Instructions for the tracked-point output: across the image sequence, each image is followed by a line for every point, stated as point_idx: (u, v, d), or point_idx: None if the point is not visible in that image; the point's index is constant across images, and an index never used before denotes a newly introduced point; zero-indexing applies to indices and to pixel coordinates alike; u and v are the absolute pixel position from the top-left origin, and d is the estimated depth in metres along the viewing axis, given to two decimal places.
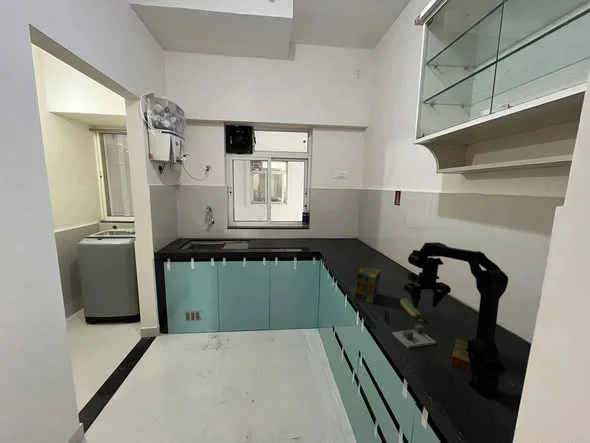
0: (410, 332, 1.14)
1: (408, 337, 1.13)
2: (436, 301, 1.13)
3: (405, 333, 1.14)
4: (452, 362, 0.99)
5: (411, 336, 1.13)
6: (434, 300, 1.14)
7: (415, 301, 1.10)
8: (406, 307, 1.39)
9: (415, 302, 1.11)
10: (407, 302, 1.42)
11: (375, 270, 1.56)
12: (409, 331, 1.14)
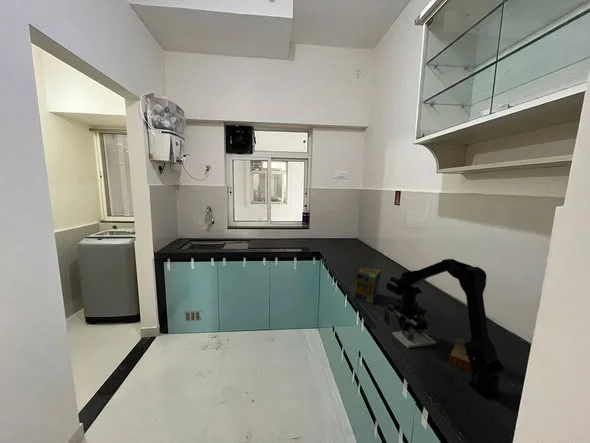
0: (411, 332, 1.13)
1: (409, 337, 1.13)
2: None
3: (406, 333, 1.14)
4: (450, 361, 1.00)
5: (412, 336, 1.13)
6: None
7: None
8: None
9: None
10: None
11: (375, 270, 1.56)
12: (409, 331, 1.14)
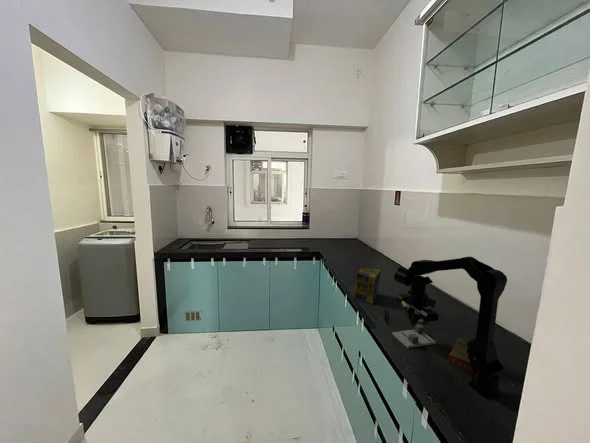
0: (415, 336, 1.11)
1: (413, 341, 1.10)
2: None
3: (410, 337, 1.11)
4: (449, 360, 1.00)
5: (416, 340, 1.10)
6: None
7: None
8: None
9: None
10: None
11: (375, 270, 1.56)
12: (414, 335, 1.11)
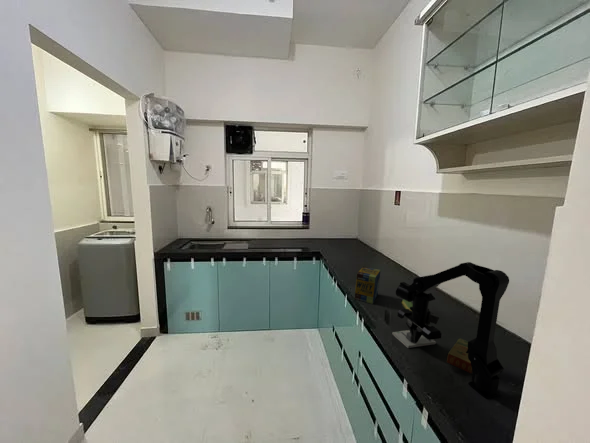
0: None
1: (411, 339, 1.11)
2: None
3: (408, 335, 1.12)
4: (448, 359, 1.01)
5: None
6: None
7: None
8: (407, 307, 1.39)
9: None
10: (408, 302, 1.41)
11: (375, 270, 1.56)
12: None
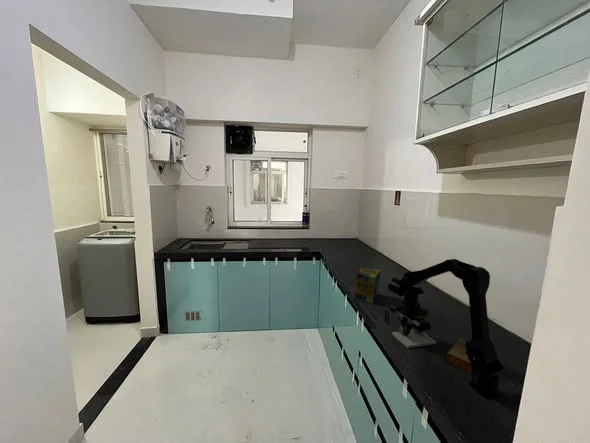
0: None
1: (403, 333, 1.16)
2: None
3: (400, 329, 1.17)
4: (447, 359, 1.01)
5: None
6: None
7: None
8: None
9: None
10: None
11: (375, 270, 1.56)
12: None
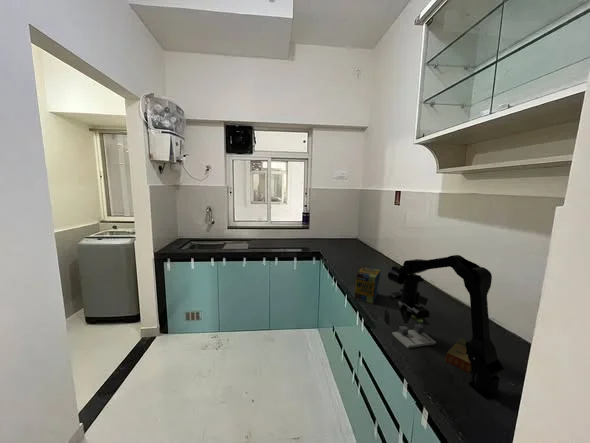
0: (405, 328, 1.16)
1: (403, 333, 1.16)
2: None
3: (400, 329, 1.17)
4: (446, 358, 1.01)
5: (406, 332, 1.16)
6: None
7: None
8: None
9: None
10: None
11: (375, 270, 1.56)
12: (404, 327, 1.17)
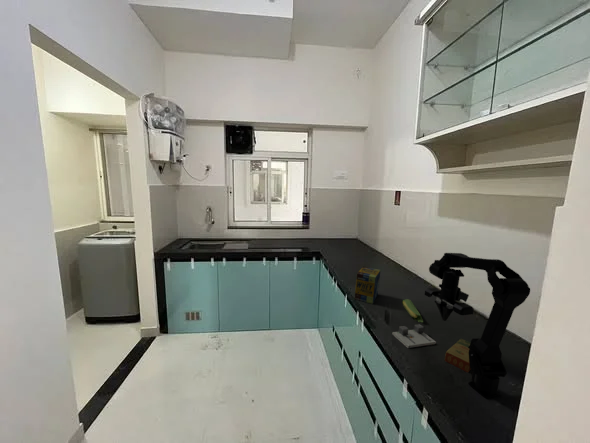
0: (405, 328, 1.16)
1: (403, 333, 1.16)
2: None
3: (400, 329, 1.17)
4: (445, 358, 1.02)
5: (406, 332, 1.16)
6: None
7: None
8: (407, 308, 1.39)
9: None
10: (409, 303, 1.41)
11: (375, 270, 1.56)
12: (404, 327, 1.17)
